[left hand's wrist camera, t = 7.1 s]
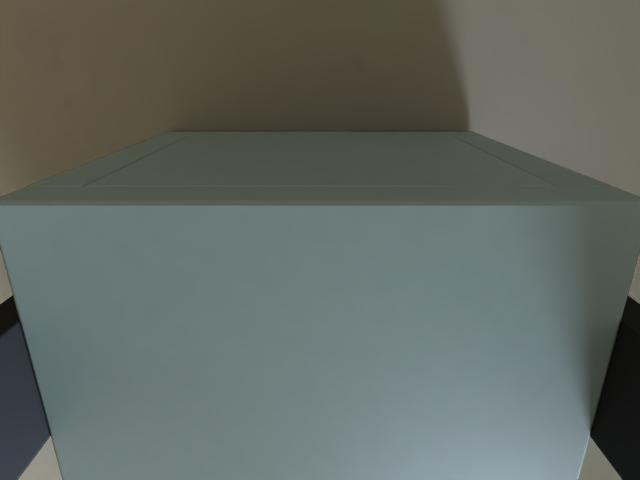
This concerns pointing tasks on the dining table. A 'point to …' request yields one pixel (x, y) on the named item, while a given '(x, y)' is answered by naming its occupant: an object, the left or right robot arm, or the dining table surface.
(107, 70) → the dining table surface
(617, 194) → the cabinet
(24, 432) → the left robot arm
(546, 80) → the dining table surface
